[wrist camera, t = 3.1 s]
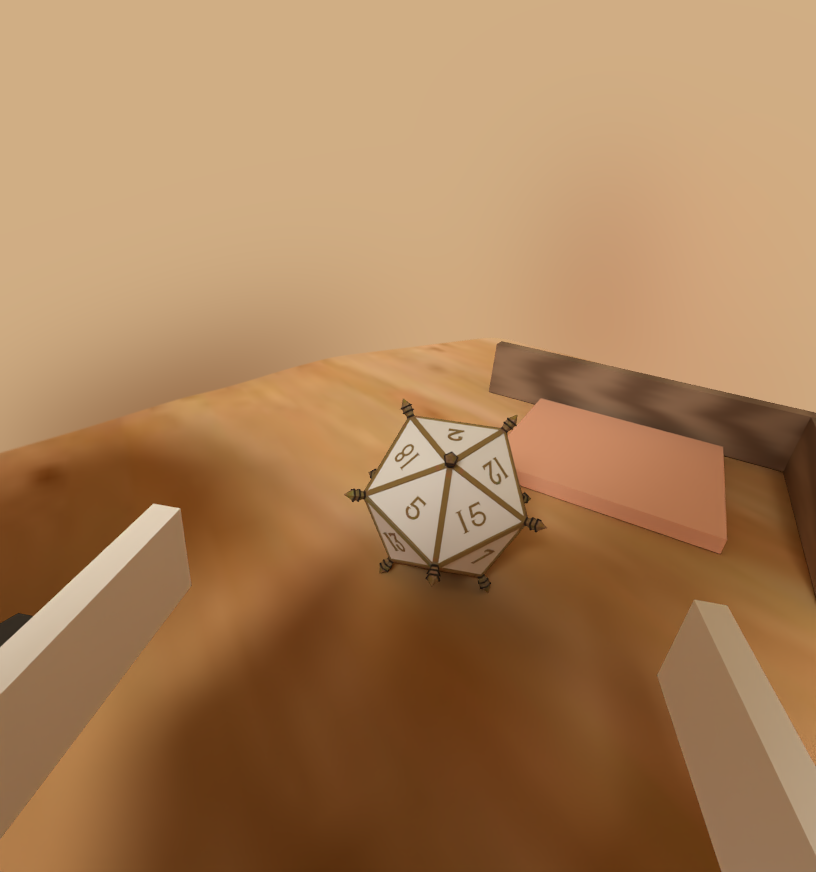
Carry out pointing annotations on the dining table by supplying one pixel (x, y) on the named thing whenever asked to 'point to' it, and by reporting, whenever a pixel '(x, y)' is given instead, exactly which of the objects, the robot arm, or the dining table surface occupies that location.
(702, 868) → the dining table surface
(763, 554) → the dining table surface
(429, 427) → the game die
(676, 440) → the mat
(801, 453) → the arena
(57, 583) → the dining table surface
